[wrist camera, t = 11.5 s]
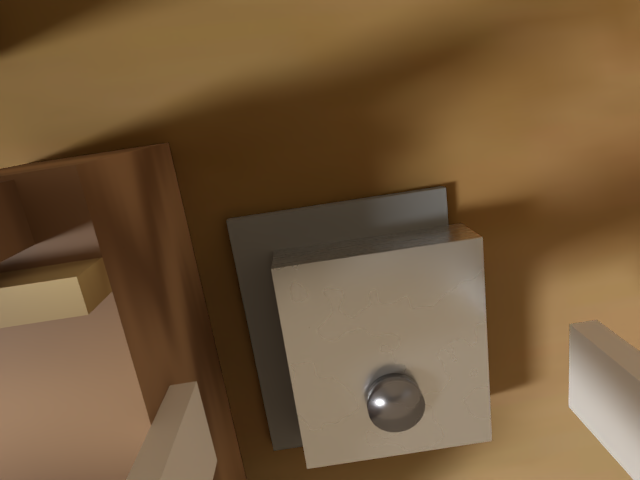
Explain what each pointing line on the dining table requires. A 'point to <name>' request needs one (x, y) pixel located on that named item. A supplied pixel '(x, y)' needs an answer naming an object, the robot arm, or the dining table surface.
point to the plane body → (99, 316)
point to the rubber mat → (298, 231)
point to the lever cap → (386, 343)
